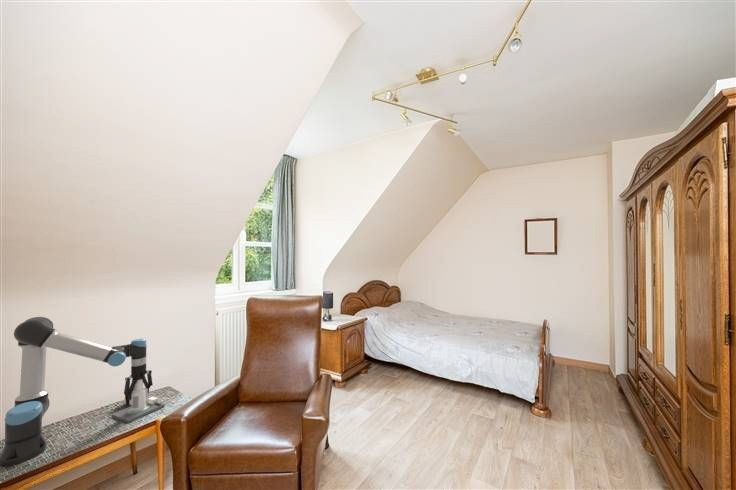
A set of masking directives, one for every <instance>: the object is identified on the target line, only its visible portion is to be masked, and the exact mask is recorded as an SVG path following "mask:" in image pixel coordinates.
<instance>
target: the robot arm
mask: <svg viewBox="0 0 736 490" xmlns="http://www.w3.org/2000/svg"><path fill="white" fill-rule="evenodd" d="M13 337H14V339H15V340H16V341H17V346H18V347H20V349H22V350H21V365H20V367H21V369H20V381H19V382H20V383H19V394H18V395H17V396H16V397H15V399H14V406H13V407H11V408H10V409H9V410H7V411H6V413H5V418H4V423H5V424H4V425H5V427H4V446H3V448H2V450H1V453H0V465H9V466H13V465H12V464H14V465H17V464H21V463H23V462H26V461H29V460H30V459H33V458H35V457H37V456H39V455H41V454H42V453H43V452H45V451H46V449H47V447H48V446H47V441H46V439H45V437H44V435H43V433H42V431H43V427H42V424H43V418H44V416H45V414H46V413H47V411H48V409H49V407H50V399H49V391H48V390H47V389H45V386H46V384H45V381H46V367H47V366H46V365H47V363H46V362H47V348H50V349H53V350H57V351H61V352H66V353H68V354H69V353H70V354H73V355H77V356H80V357H84V358H88V359H91V360H95V361H100V362H103V363H106V364H108V365H110V366H111V367H119V366H122V365H123V363H124V362H125V361H126V358H130V357H131V358H130V359H131V360H130V365H131V366H130V376H128V377H125V378H124V380H125V385H124V389H125V390H124V389H123V394H124V396H125V395H128V400H129V405H130V406H132V405H133V394H132V392H133V389H134V387H135V384H136V382H137V380H139V379H142V381H143V386H144V388H145V389H146V400H147V399H148V398H149V397H148V396H149V395H148V394H149V393H150V388H151V386H153V377H152V372H153V371H152V370H151V369H150V370H149V369H148V370H147V339H146V338H136V339H132V340H130V341H131V342H130V343H128V344H123V345H118V346H117V345H116V346H112V347H111V346H106V345H103V344H99V343H96V342H92V341H90V340H85V339H82V338H78V337H75V336H71V335H69V334H65V333H62V332H58V330H57V329H56V328H54V322H53V320H51V319H50V318H49V317H46V316H36V317H35V316H33V317H31V318H28V319H27V320H26V319H25V321H23V322H22V323H20V324H19V325H17V326H16V327H15V329H14V331H13ZM129 387H130V388H129Z"/></svg>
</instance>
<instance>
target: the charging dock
mask: <svg viewBox="0 0 736 490" xmlns="http://www.w3.org/2000/svg"><path fill="white" fill-rule="evenodd" d="M164 407H165V404H164V403H161V402H159V397H156V396H151V397H148V399H146V407H145V408H144V409H142V410H139V411H132V405H130V406H129V407H126V408H123V409H121V410H119V411H116V412H113V413H111V415H110V416H112V417H111V418H113V417H114V419H116V418H117V419H116V420H118V419H119V420H118V421H122V422H124V423H127V424H129V423H131V422H134V421H136V420H138V419H140V418H142V416H143V417H145V416H147V415H149V414H151V413H153V412H156V411H158V410H159V409H162V408H164Z"/></svg>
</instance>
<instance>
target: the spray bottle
mask: <svg viewBox="0 0 736 490" xmlns="http://www.w3.org/2000/svg"><path fill="white" fill-rule="evenodd" d="M145 388H146V387H144V383H143V381H142V379H139V380H137V382H136V384H135V390H134V391H133V392H132V394H133V405H131V406H132V411H139V410H142V409H144V408H145V407H146V400H147V399H146V389H145Z"/></svg>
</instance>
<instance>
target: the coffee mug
mask: <svg viewBox="0 0 736 490" xmlns="http://www.w3.org/2000/svg"><path fill="white" fill-rule="evenodd" d="M129 388H130V386H129ZM124 390H125V388H124V389H123V391H124ZM134 390H135V387H134V389H133V391H134ZM124 397H125V405H126V406H127V405H129V400H128V395H125V394H124Z"/></svg>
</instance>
